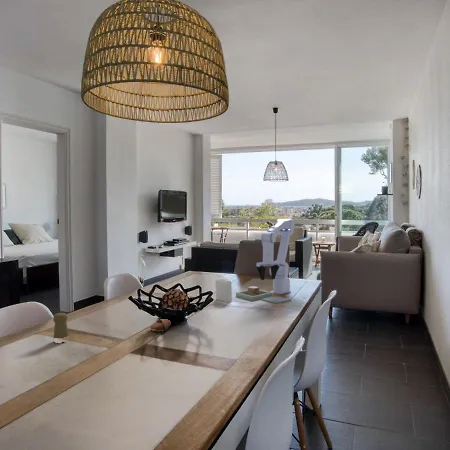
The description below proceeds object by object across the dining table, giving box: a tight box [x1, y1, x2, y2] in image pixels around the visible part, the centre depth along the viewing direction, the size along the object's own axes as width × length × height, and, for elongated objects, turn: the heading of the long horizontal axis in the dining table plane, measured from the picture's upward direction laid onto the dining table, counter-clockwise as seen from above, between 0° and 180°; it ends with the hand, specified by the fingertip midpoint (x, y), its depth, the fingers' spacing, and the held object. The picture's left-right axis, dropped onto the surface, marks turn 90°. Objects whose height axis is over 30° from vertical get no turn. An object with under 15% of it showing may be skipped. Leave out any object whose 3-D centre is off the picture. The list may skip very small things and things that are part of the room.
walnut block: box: [247, 285, 260, 296], centre depth 218 cm, size 4×5×5 cm
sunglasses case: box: [149, 318, 172, 332], centre depth 171 cm, size 18×7×7 cm, turn 170°
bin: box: [235, 289, 273, 302], centre depth 218 cm, size 14×14×2 cm
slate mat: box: [261, 295, 292, 305], centre depth 208 cm, size 11×11×1 cm
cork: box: [52, 312, 70, 339], centre depth 154 cm, size 6×6×11 cm
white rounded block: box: [215, 277, 233, 303], centre depth 211 cm, size 10×4×12 cm, turn 39°
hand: (267, 279), depth 213 cm, fingers open, 7 cm apart
